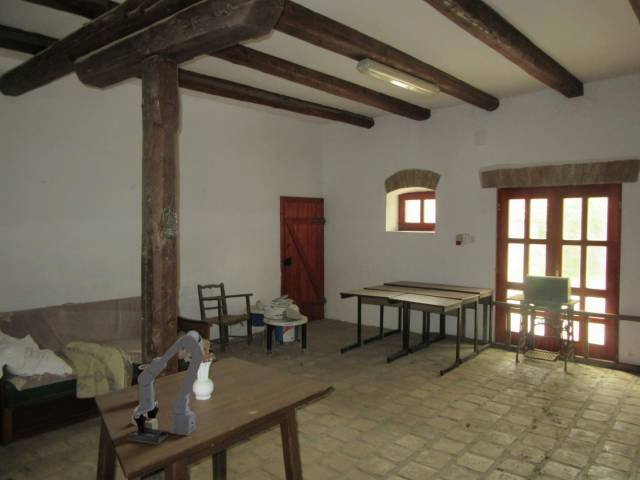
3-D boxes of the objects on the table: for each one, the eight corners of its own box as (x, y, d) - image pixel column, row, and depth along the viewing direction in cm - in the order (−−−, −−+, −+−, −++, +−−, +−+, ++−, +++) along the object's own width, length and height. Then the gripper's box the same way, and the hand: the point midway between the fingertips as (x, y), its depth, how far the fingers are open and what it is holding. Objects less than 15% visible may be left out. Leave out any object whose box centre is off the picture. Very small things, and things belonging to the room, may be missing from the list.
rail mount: (168, 436, 205) (168, 430, 205) (157, 444, 198) (157, 438, 198) (138, 432, 209) (138, 426, 209) (127, 439, 202) (127, 434, 202)
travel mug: (134, 402, 242) (134, 367, 240) (147, 396, 249) (146, 363, 248) (146, 405, 238) (145, 370, 237) (158, 399, 245) (157, 365, 244)
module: (157, 430, 211) (157, 419, 211) (152, 434, 208) (152, 422, 207) (144, 428, 213) (144, 417, 213) (138, 431, 209) (138, 420, 209)
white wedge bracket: (155, 413, 223) (147, 400, 219) (138, 429, 217) (129, 416, 213) (151, 410, 225) (142, 398, 222) (134, 427, 219) (125, 414, 215)
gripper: (148, 390, 217) (148, 419, 217) (127, 402, 203) (127, 433, 203) (162, 392, 215) (162, 421, 216) (142, 404, 201) (142, 436, 202)
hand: (146, 427), depth 209 cm, fingers open, 6 cm apart
